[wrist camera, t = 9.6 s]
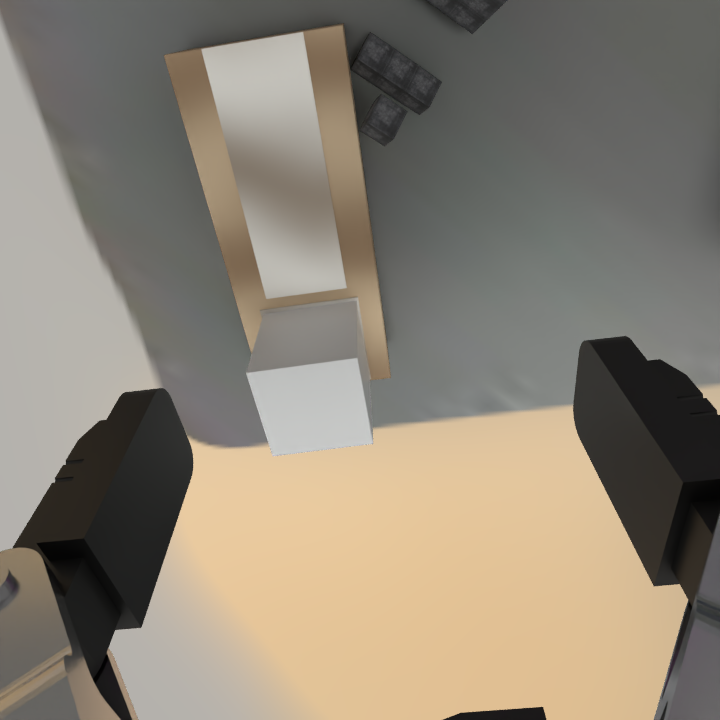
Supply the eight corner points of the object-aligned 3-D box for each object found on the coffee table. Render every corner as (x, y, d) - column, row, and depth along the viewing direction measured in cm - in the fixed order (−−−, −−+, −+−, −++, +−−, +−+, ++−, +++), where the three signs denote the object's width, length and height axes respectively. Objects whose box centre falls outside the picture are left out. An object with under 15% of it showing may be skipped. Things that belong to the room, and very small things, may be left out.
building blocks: (568, -106, 16) (446, 136, 17) (483, -14, 22) (392, 169, 22) (482, -182, 15) (355, 75, 16) (415, -66, 21) (321, 126, 21)
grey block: (263, 314, 23) (246, 372, 20) (356, 300, 23) (357, 358, 19) (284, 389, 25) (272, 456, 22) (370, 378, 25) (373, 443, 21)
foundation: (186, 49, 21) (162, 55, 18) (343, 23, 20) (342, 25, 18) (271, 359, 28) (262, 394, 26) (387, 344, 28) (390, 378, 25)
